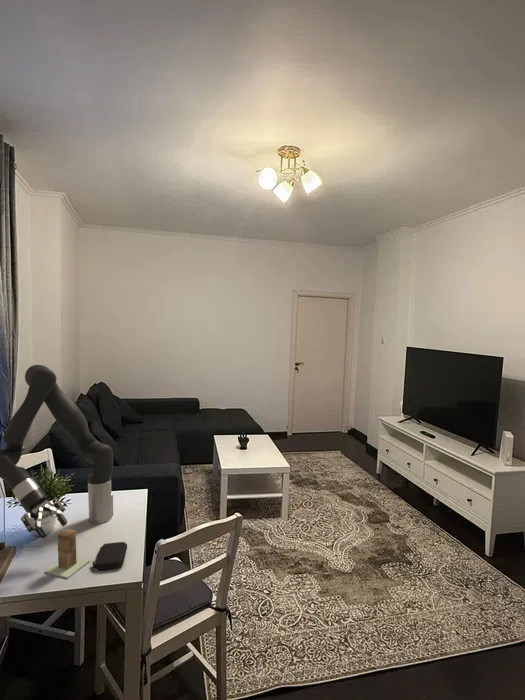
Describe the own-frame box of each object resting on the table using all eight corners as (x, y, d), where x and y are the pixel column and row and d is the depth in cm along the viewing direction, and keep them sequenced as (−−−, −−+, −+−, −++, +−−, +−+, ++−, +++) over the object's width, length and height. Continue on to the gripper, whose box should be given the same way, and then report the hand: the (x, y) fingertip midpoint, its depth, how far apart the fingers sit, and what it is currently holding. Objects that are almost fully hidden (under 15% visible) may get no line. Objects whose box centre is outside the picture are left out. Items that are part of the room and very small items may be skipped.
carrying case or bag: (98, 550, 151) (90, 574, 136) (98, 542, 151) (89, 566, 136) (128, 547, 153) (122, 570, 139) (127, 539, 153) (122, 562, 138)
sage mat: (67, 556, 146) (67, 554, 146) (89, 561, 143) (89, 560, 143) (44, 572, 137) (44, 570, 137) (67, 578, 133) (67, 577, 133)
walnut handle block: (67, 560, 142) (66, 528, 141) (76, 563, 141) (75, 530, 140) (58, 567, 138) (57, 534, 138) (67, 569, 137) (66, 536, 136)
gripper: (17, 496, 135) (44, 535, 133) (51, 480, 149) (76, 515, 146) (6, 509, 138) (32, 547, 135) (41, 492, 151) (66, 526, 148)
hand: (55, 530), depth 141 cm, fingers open, 8 cm apart
